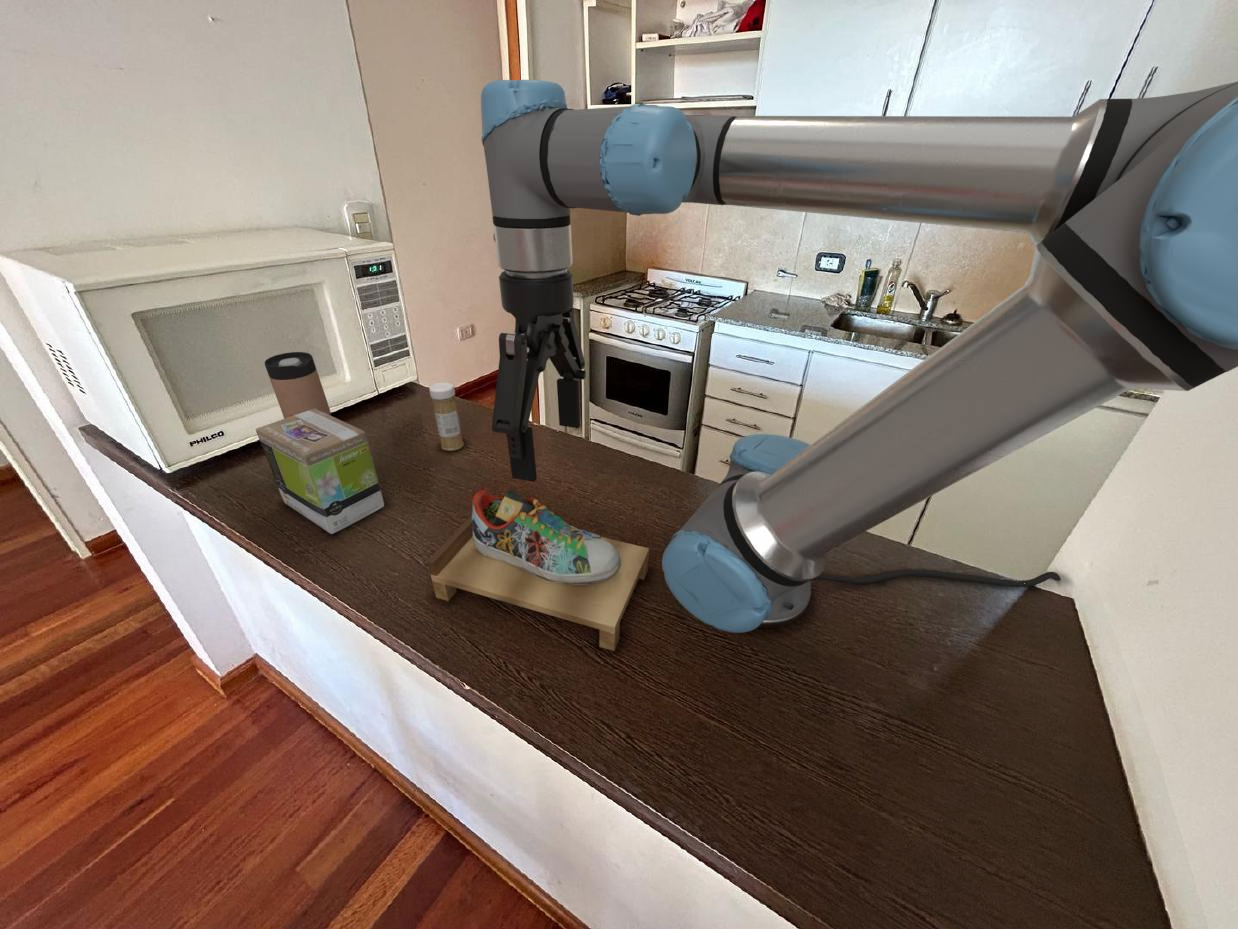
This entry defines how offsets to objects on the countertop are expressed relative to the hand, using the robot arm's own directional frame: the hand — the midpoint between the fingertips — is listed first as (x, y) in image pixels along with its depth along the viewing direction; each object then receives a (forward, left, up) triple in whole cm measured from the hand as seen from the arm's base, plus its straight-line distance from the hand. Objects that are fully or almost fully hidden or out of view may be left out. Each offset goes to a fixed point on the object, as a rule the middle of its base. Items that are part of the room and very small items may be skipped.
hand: (549, 450), depth 63 cm
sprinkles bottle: (+36, -26, -21) cm, 49 cm away
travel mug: (+58, -14, -21) cm, 63 cm away
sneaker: (+1, +2, -17) cm, 17 cm away
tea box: (+43, -2, -21) cm, 48 cm away
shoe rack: (+1, +2, -21) cm, 21 cm away
